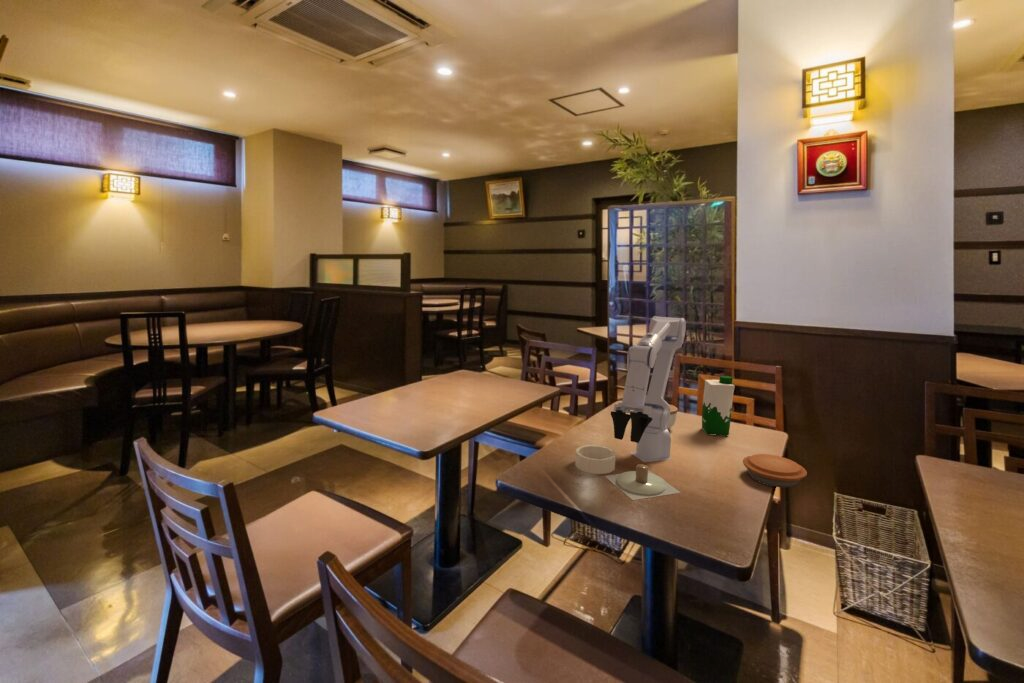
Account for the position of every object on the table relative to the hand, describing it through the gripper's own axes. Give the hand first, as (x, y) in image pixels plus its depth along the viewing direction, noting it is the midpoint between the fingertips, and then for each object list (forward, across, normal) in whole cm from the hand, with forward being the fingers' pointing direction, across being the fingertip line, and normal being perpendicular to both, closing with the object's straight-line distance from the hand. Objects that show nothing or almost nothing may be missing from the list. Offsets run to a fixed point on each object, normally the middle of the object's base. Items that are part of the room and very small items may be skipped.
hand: (626, 440), depth 125 cm
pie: (+1, +7, +44) cm, 44 cm away
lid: (+10, 0, +7) cm, 12 cm away
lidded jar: (-8, -36, +37) cm, 52 cm away
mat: (+11, 0, +7) cm, 13 cm away
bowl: (+9, -14, +1) cm, 17 cm away
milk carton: (-11, -27, +52) cm, 60 cm away
